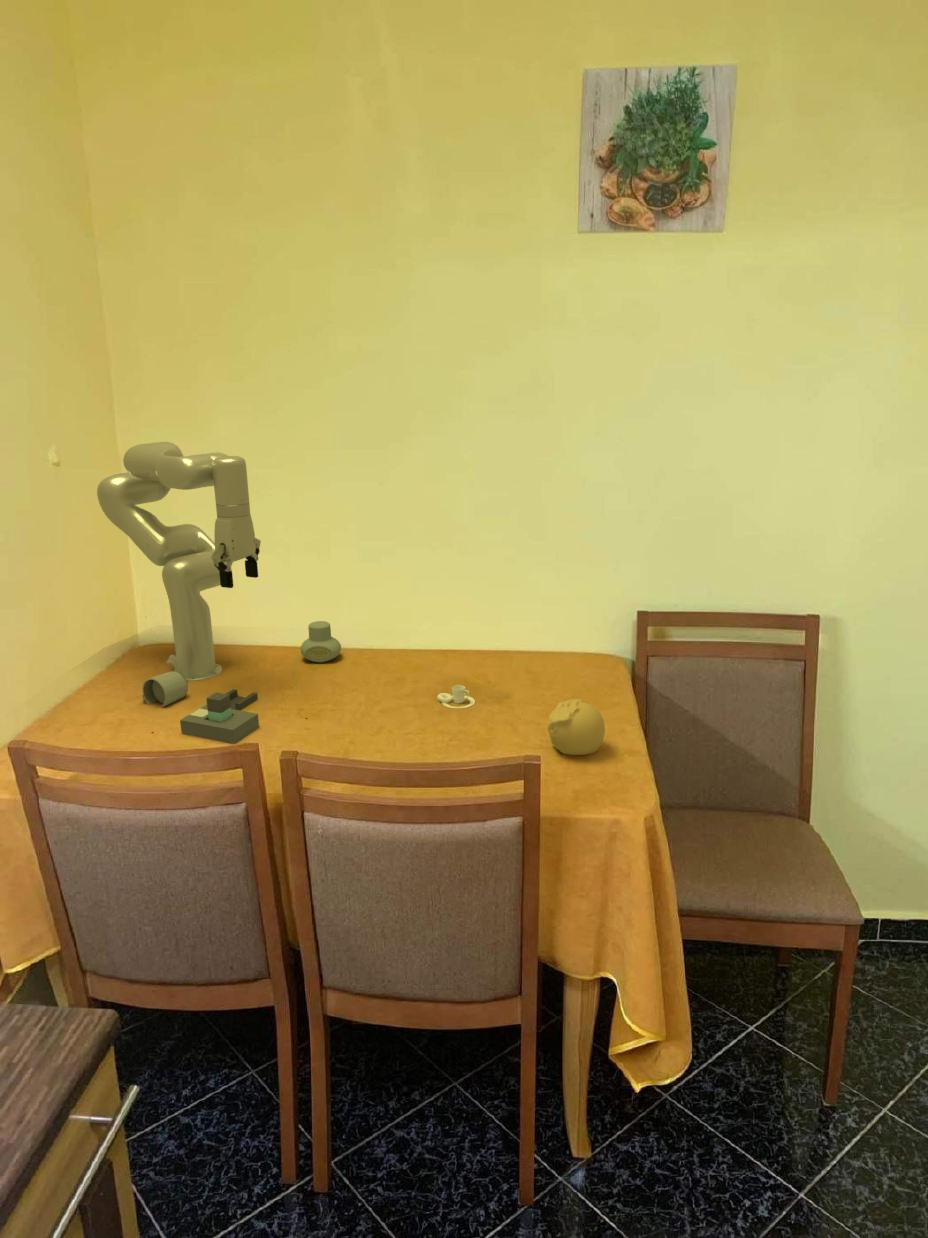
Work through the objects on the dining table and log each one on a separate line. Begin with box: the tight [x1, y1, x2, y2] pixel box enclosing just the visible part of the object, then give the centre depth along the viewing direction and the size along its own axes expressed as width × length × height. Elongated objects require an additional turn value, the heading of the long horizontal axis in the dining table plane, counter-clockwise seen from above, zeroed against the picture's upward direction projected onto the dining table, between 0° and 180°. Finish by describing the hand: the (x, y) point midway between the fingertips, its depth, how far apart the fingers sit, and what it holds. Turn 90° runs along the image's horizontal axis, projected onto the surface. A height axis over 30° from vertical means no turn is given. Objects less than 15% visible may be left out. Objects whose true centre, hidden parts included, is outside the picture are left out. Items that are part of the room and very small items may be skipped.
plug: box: [205, 692, 232, 723], centre depth 190 cm, size 4×4×8 cm
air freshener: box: [300, 620, 342, 664], centre depth 235 cm, size 11×8×10 cm
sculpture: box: [547, 698, 606, 756], centre depth 181 cm, size 12×12×11 cm
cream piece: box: [437, 684, 476, 709], centre depth 207 cm, size 9×8×4 cm
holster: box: [225, 688, 259, 711], centre depth 206 cm, size 7×7×2 cm
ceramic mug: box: [141, 670, 189, 708], centre depth 208 cm, size 11×8×8 cm
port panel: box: [179, 704, 260, 745], centre depth 191 cm, size 14×9×4 cm, turn 68°
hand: (239, 582), depth 206 cm, fingers open, 9 cm apart
